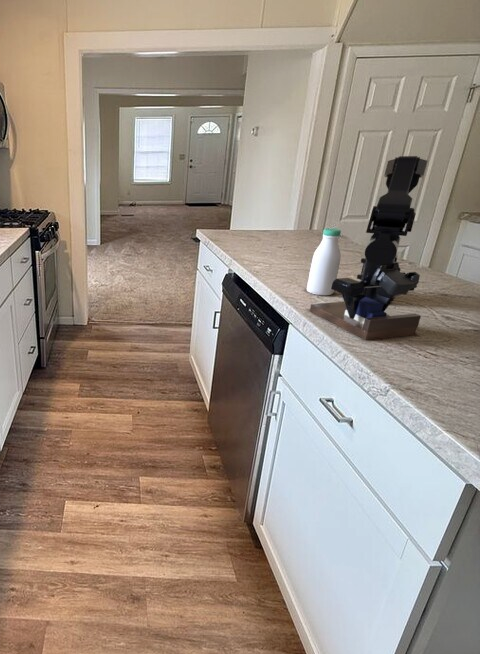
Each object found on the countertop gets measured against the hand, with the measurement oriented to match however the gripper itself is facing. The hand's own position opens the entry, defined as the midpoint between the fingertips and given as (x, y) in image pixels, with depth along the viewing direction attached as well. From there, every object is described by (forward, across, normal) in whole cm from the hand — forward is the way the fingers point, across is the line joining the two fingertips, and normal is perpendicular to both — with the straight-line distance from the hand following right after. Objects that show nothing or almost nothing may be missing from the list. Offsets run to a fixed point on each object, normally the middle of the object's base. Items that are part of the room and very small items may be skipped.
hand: (365, 317), depth 101 cm
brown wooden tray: (+3, +2, +4) cm, 5 cm away
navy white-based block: (+1, 0, 0) cm, 1 cm away
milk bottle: (+3, +9, +28) cm, 29 cm away
